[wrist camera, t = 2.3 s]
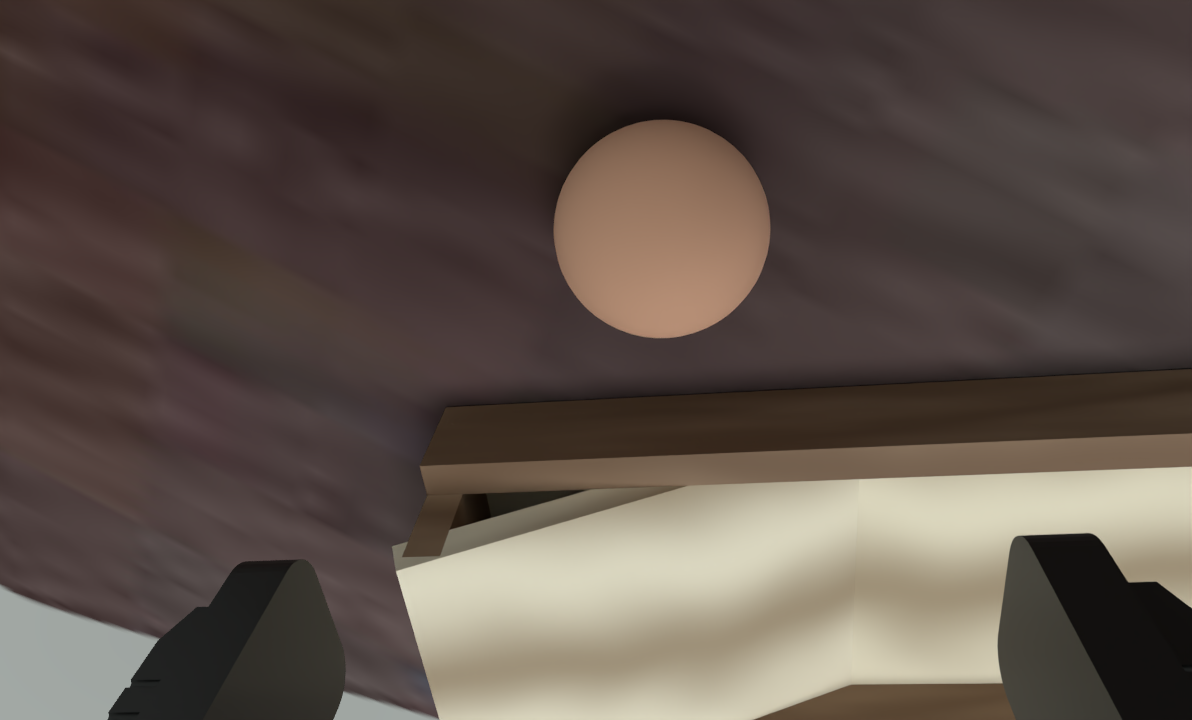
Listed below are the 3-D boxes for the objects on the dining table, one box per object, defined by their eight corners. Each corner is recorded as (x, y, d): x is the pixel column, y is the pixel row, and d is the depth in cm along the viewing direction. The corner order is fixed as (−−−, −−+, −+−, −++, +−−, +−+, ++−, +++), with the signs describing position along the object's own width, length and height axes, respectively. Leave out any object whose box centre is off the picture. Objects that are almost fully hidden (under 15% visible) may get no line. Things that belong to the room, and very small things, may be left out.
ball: (554, 107, 21) (522, 166, 17) (758, 88, 21) (779, 143, 16) (579, 291, 24) (556, 383, 19) (763, 278, 23) (782, 371, 19)
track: (433, 407, 26) (371, 540, 21) (1807, 337, 21) (2169, 484, 16) (499, 683, 32) (463, 842, 27) (1596, 675, 27) (1813, 864, 22)
